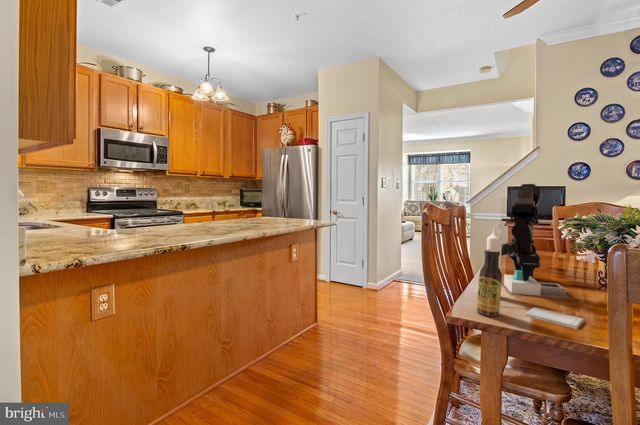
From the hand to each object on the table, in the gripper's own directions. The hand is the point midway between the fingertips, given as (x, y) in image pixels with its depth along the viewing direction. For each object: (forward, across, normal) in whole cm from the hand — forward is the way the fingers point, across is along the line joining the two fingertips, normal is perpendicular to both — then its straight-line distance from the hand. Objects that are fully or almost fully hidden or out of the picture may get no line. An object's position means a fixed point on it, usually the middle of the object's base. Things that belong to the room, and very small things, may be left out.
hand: (521, 277), depth 121 cm
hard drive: (+6, +26, +2) cm, 27 cm away
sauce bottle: (+6, +28, -16) cm, 33 cm away
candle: (+6, +12, -12) cm, 18 cm away
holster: (+4, 0, +9) cm, 10 cm away
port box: (+4, 0, 0) cm, 4 cm away
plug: (+4, 0, 0) cm, 4 cm away
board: (+6, 0, +4) cm, 7 cm away
